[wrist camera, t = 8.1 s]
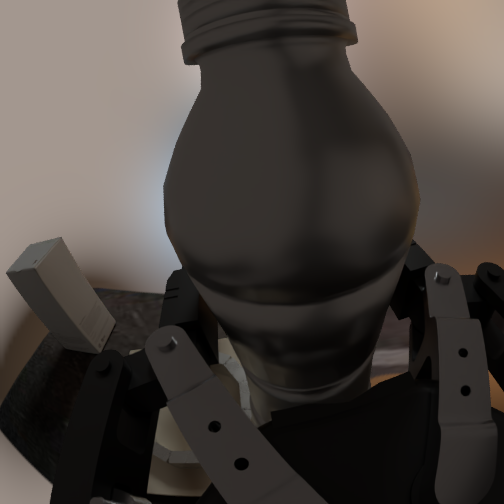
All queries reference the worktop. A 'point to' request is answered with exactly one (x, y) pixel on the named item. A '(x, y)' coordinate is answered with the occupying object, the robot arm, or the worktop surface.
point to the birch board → (183, 446)
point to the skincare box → (61, 296)
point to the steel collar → (237, 374)
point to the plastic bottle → (289, 197)
